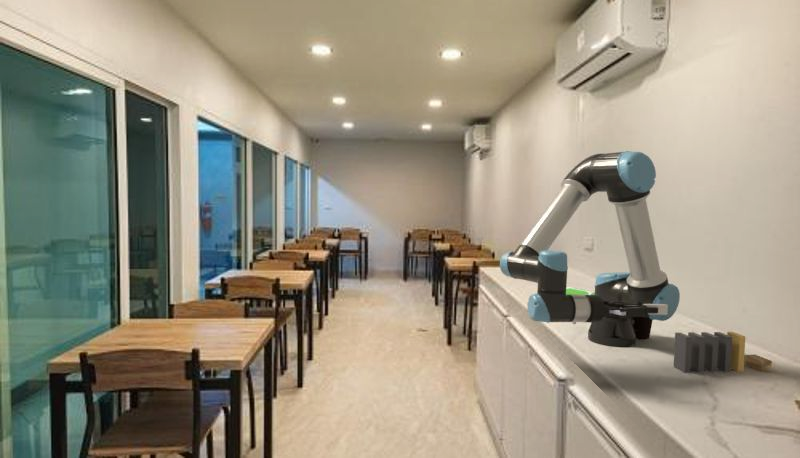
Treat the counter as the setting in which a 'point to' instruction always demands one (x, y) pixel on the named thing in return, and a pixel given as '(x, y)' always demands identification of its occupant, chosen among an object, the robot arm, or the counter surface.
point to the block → (758, 363)
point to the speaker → (578, 291)
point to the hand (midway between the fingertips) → (665, 309)
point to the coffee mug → (642, 327)
